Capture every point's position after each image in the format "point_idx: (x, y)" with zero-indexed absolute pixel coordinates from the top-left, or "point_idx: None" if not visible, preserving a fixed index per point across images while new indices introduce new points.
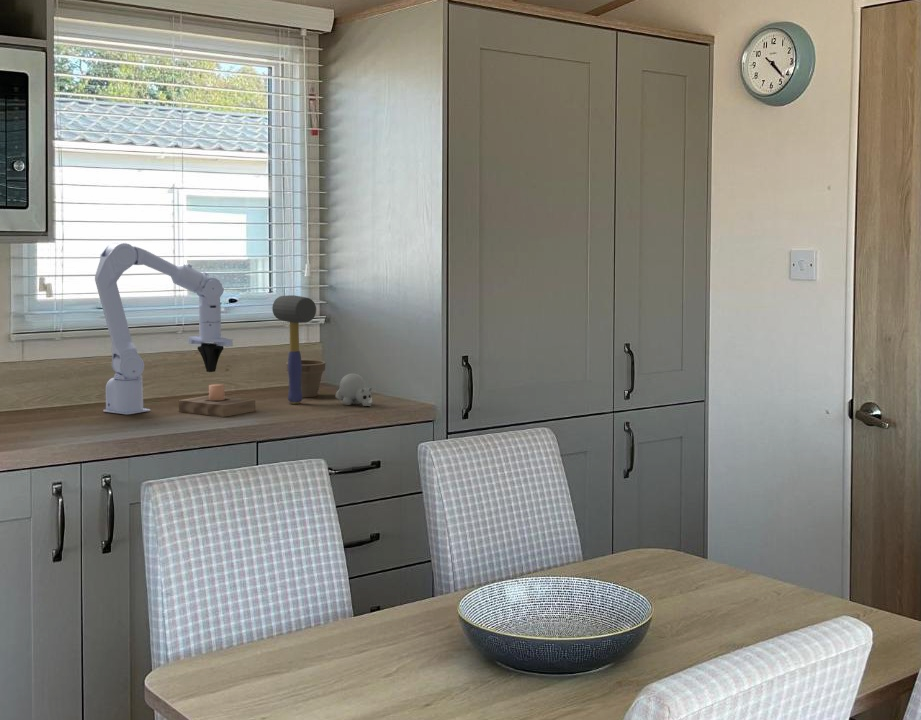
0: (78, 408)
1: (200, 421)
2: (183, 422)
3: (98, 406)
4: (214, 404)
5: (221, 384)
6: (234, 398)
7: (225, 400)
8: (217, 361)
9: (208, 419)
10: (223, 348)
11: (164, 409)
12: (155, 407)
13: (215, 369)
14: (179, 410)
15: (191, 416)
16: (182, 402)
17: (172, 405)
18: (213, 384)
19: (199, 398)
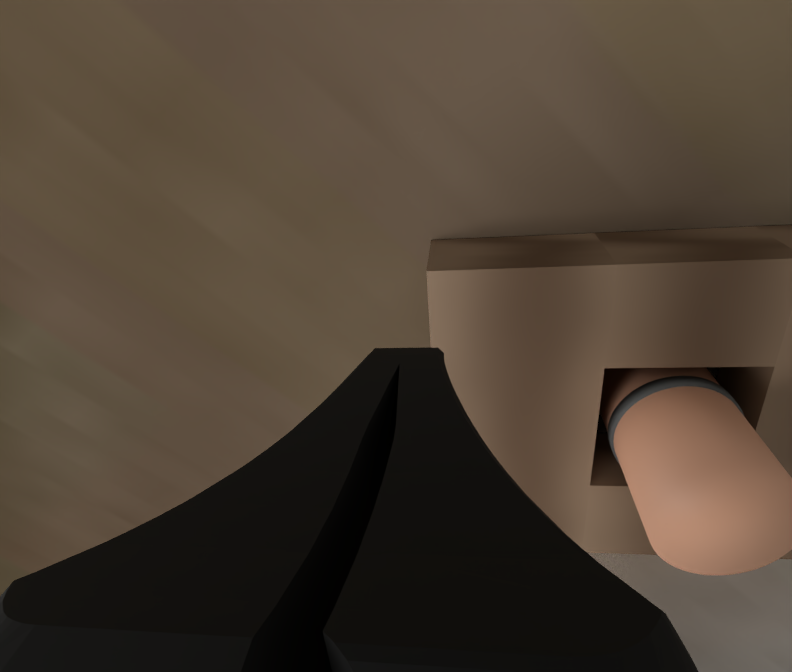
0: None
1: (781, 624)
2: (715, 662)
3: (12, 557)
4: (788, 558)
5: (744, 478)
6: (766, 301)
7: (704, 361)
8: (471, 423)
9: (786, 577)
10: (662, 615)
11: None
12: (214, 461)
13: (442, 361)
14: None
15: (629, 557)
16: None
17: (209, 367)
18: (665, 510)
19: (497, 443)
